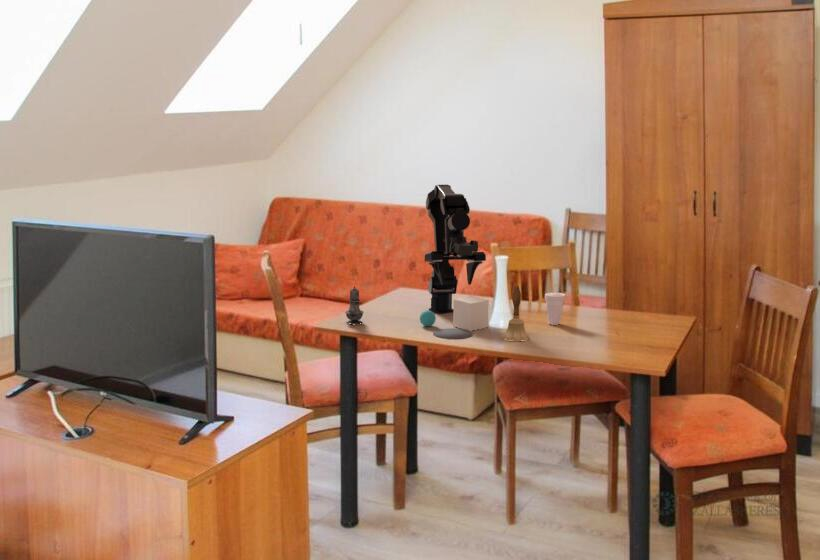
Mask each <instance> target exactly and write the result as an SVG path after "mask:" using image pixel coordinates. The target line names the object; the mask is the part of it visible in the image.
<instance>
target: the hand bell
mask: <svg viewBox="0 0 820 560" xmlns="http://www.w3.org/2000/svg"><path fill="white" fill-rule="evenodd" d="M513 287H514V288H513V291H512V294H511V298H512V305H513V314H512V315H513V318H512V319H509V320H508V325H507V329H506V331H505V333H504V334H502V336H501V338H503V339H502V340H504V339H507V340H513V341H521V340H527V339H529V338H530V335H529V334H528V333H527V332H526V329H525V324H524V322H525V321H524V320H523V319H521V318H520V306H521V305H520V304H521V301H522V294H521V290H520V286H519V285H514V286H513ZM507 340H506V341H507ZM529 340H530V339H529ZM513 341H512V342H513ZM527 341H528V340H527Z"/></svg>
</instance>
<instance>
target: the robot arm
mask: <svg viewBox="0 0 820 560" xmlns="http://www.w3.org/2000/svg"><path fill="white" fill-rule="evenodd" d="M425 209H426V210H427V215H428V217H429V219H430V220H431V221H432V224H433V239H434V250H432V251H429V252H426V253H424V263H425V262H426V263H428V265H429V266H431V267H432V271H431V276H430V278H429V282H428V287H427V288H428V293H429V295H431V298H430V308H428V310H429V311H432V312H433V313H437V314H446V313H450V312H453V310H454V308H452V307H453V295H456V293H457V290H458V289H457V287H458V282H459V280H458V279H457V275H455V268H454V266H453V265H451V263H450V261H467V263H466V264H465V265H466V266H465V267H466V277H467V279H466V280H467V285H468V286H471V285H472V283H473V279H474V276H475V272H476V270H477V268H478V267H479V265H482V264H483V262H487V255H486V253H485V252H484V251H479V242H478V240H470V241H469V242H467V237H466V236H465V234H464V231H465V230H467V229H468V228H469V226H470V224H471V218H470V216H469V214H470V211H471V210H470V206H469V202H468V201H467V198H466V197H465V195H464V194H462V193H455V191H454V190H453V189H452V186H451V185H449V184H436V185H434V189H432V190H431V191H429V192H428V193H427V196H426V199H425Z"/></svg>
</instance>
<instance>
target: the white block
mask: <svg viewBox="0 0 820 560" xmlns="http://www.w3.org/2000/svg"><path fill="white" fill-rule="evenodd" d="M489 301H490V300H489V299H485V298H480V297H477V296H473V295H469V296H463V297H459V298H454V299H453V309H454V310H453V311H452V312H453V315H452V317H453V318H452V319H453V320H452V322H453V323H452V325H453V326H454V327H453V328H456V327H457V328H456V329H460V328H461V329H464V330H468V331H470V332H473V331H472V330H475V331H478V330H477V329H479V330H483V329H482V328H484V329H486V328H485V327H488V328H489V305H490V303H489Z"/></svg>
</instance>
